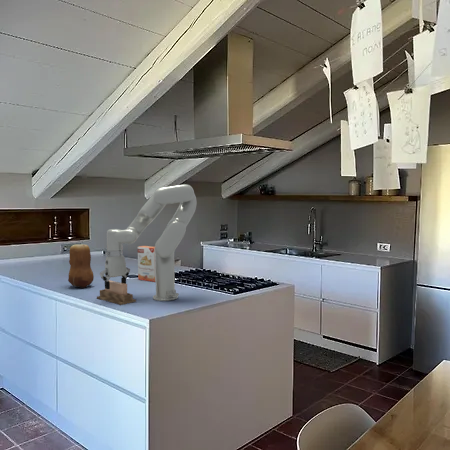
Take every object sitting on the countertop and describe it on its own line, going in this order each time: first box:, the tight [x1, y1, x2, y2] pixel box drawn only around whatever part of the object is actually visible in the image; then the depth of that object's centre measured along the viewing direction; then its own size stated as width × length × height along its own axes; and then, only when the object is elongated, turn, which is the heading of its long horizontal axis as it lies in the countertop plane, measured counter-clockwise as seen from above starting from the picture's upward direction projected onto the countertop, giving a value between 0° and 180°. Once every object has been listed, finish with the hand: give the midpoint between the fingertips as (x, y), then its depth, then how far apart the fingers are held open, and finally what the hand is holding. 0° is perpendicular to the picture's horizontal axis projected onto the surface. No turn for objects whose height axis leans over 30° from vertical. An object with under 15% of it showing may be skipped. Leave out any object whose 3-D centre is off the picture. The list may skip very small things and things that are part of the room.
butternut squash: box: [67, 243, 95, 289], centre depth 264 cm, size 14×13×25 cm
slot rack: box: [96, 288, 137, 306], centre depth 233 cm, size 21×9×4 cm, turn 48°
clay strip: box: [104, 279, 128, 296], centre depth 233 cm, size 16×2×8 cm, turn 47°
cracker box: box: [137, 245, 156, 283], centre depth 284 cm, size 14×6×21 cm, turn 56°
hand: (115, 287), depth 233 cm, fingers open, 9 cm apart
